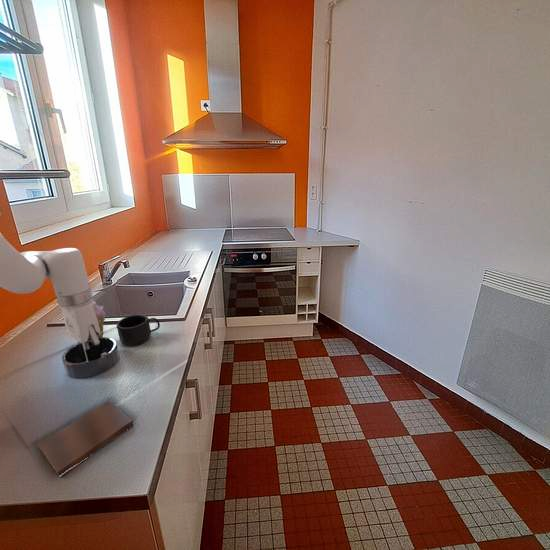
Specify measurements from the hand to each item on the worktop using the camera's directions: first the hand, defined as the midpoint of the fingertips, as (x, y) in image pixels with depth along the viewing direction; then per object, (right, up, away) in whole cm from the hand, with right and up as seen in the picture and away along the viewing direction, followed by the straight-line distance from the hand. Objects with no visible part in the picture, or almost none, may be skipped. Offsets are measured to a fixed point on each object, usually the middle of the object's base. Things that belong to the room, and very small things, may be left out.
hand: (92, 357), depth 83 cm
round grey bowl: (0, -3, +1) cm, 3 cm away
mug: (+8, +2, +13) cm, 15 cm away
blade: (0, -2, +1) cm, 2 cm away
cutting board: (+12, -10, -22) cm, 27 cm away
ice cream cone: (-4, +1, +11) cm, 11 cm away
